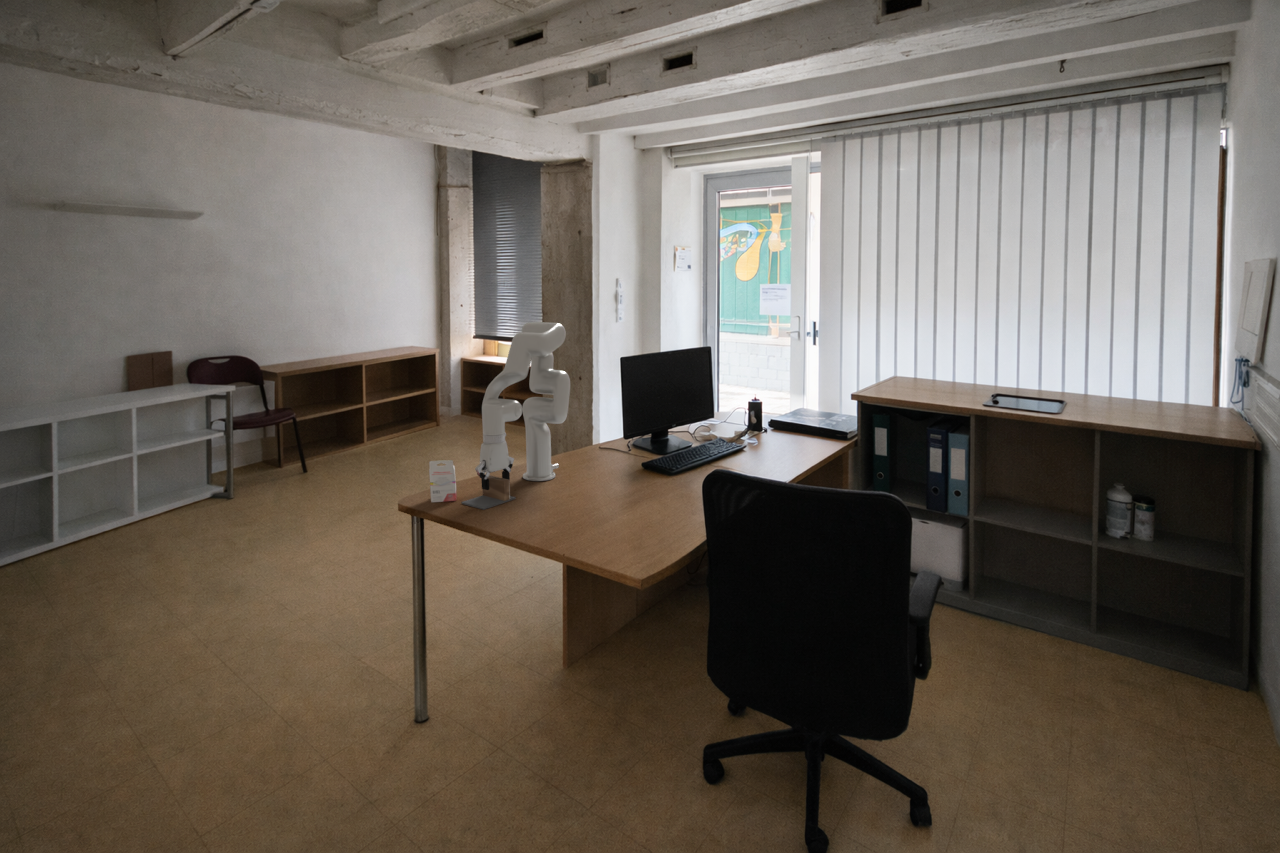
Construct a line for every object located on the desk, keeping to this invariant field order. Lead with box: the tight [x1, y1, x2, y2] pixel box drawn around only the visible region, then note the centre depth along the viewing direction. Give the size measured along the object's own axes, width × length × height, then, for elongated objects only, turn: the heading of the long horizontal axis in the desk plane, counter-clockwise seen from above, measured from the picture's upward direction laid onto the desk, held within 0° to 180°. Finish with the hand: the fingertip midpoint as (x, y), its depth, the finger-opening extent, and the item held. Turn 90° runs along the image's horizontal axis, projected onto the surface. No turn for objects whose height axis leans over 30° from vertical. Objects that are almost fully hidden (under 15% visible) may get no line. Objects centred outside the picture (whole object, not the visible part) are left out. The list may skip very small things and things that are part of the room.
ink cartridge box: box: [428, 459, 458, 503], centre depth 245 cm, size 9×5×15 cm, turn 101°
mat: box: [460, 494, 517, 510], centre depth 245 cm, size 15×11×1 cm
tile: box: [482, 474, 511, 501], centre depth 247 cm, size 2×11×7 cm, turn 55°
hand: (496, 486), depth 247 cm, fingers open, 9 cm apart
